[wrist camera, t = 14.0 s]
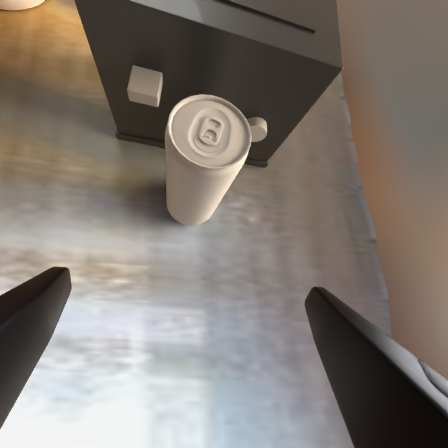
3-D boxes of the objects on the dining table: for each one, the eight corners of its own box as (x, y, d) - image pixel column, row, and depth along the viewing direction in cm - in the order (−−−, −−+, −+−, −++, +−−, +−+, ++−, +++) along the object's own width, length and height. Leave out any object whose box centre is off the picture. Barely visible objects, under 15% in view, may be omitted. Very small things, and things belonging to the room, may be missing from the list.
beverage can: (159, 218, 22) (150, 151, 11) (174, 176, 24) (180, 79, 12) (206, 232, 23) (243, 184, 12) (218, 191, 24) (261, 111, 13)
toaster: (265, 182, 26) (350, 93, 14) (113, 155, 23) (50, 5, 10) (267, 96, 29) (337, -36, 17) (135, 61, 26) (105, -135, 14)
